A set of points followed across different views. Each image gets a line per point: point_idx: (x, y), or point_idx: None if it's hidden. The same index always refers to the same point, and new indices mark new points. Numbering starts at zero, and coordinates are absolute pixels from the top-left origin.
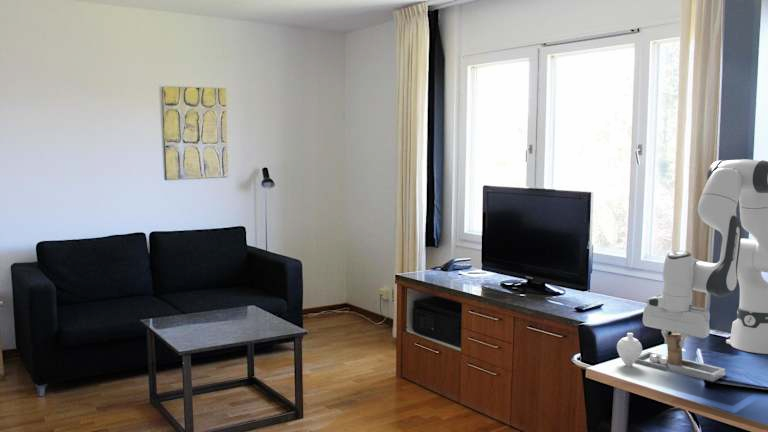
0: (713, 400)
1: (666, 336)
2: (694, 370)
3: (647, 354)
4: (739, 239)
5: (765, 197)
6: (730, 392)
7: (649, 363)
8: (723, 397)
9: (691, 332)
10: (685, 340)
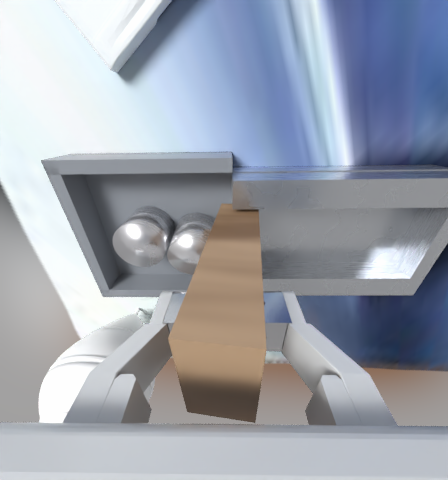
0: (385, 341)
1: (159, 361)
2: (339, 294)
3: (74, 202)
4: None
5: None
6: (436, 274)
7: None
8: (411, 315)
9: None
10: (320, 334)
